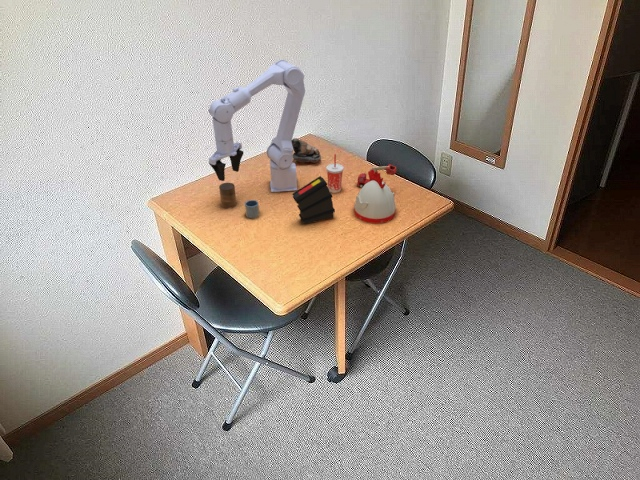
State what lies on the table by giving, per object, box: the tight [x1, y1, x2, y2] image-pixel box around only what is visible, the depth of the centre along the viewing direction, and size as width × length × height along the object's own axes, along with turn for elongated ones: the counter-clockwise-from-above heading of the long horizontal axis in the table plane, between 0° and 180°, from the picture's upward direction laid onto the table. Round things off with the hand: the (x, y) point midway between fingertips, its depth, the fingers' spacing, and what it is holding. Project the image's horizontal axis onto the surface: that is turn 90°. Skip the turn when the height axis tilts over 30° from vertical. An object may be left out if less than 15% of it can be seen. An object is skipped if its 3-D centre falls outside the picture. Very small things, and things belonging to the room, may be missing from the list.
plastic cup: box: [244, 199, 260, 219], centre depth 162 cm, size 4×4×4 cm
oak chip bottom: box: [220, 198, 237, 209], centre depth 168 cm, size 5×5×2 cm
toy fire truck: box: [356, 164, 397, 189], centre depth 175 cm, size 3×14×10 cm, turn 68°
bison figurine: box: [291, 137, 322, 164], centre depth 192 cm, size 12×7×10 cm, turn 94°
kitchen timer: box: [353, 169, 396, 224], centre depth 160 cm, size 14×14×15 cm
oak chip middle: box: [219, 192, 237, 202], centre depth 167 cm, size 5×5×2 cm
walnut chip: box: [218, 182, 236, 196], centre depth 166 cm, size 5×5×2 cm
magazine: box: [291, 175, 336, 225], centre depth 158 cm, size 4×13×15 cm, turn 110°
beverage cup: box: [325, 153, 345, 194], centre depth 173 cm, size 6×6×14 cm
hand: (228, 175), depth 166 cm, fingers open, 7 cm apart
